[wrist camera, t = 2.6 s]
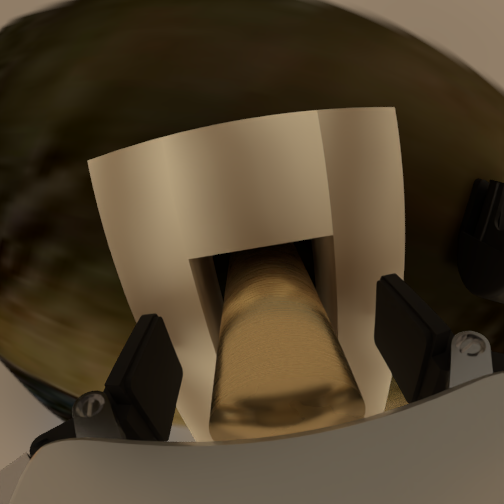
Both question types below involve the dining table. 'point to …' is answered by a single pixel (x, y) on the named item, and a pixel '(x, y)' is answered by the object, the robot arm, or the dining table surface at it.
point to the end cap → (483, 241)
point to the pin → (277, 352)
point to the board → (258, 228)
